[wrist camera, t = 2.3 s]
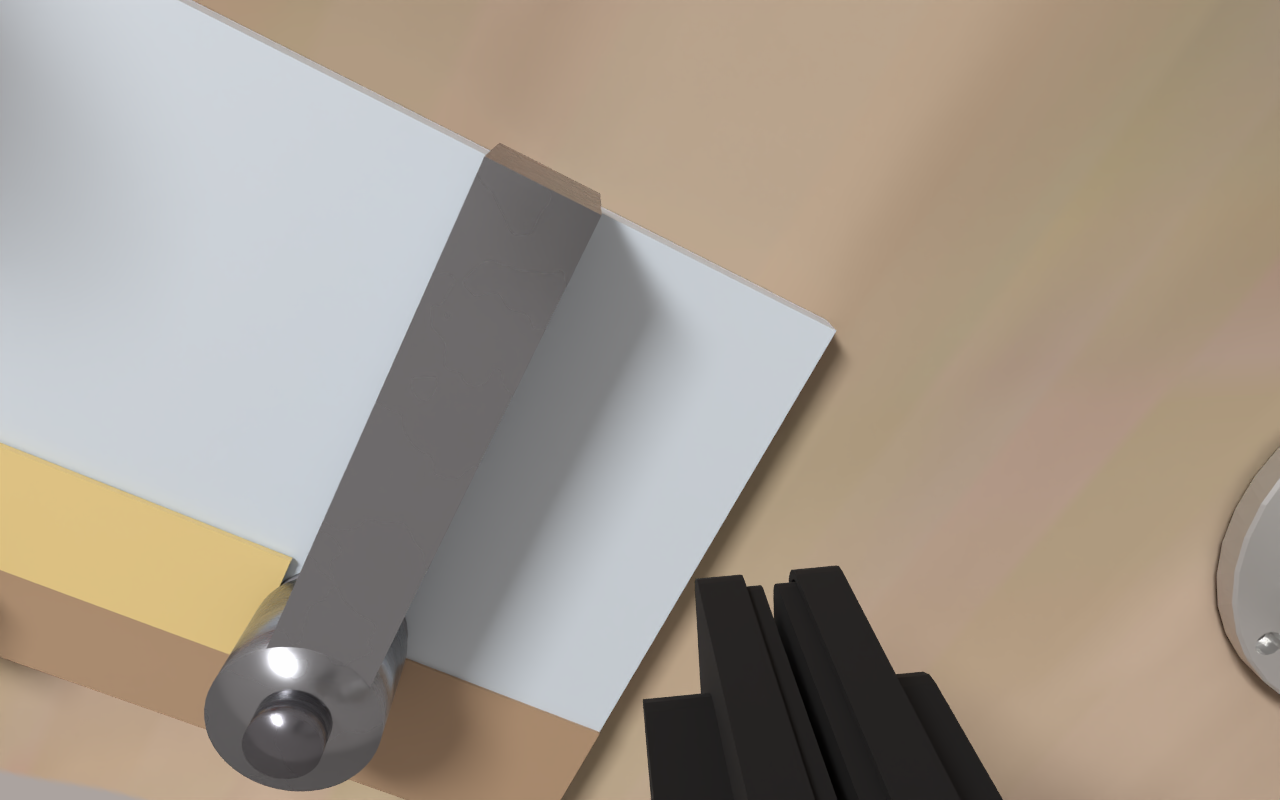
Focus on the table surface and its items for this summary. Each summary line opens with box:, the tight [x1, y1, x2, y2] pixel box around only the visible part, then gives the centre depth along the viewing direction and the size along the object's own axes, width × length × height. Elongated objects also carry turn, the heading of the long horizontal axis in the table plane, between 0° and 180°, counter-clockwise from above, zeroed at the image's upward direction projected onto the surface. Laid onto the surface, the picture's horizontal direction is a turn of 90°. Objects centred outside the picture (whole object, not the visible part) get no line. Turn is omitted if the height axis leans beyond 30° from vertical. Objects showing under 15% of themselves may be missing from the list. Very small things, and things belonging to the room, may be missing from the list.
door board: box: [0, 0, 836, 800], centre depth 26 cm, size 26×20×4 cm
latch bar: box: [204, 143, 602, 791], centre depth 24 cm, size 18×5×5 cm, turn 153°
